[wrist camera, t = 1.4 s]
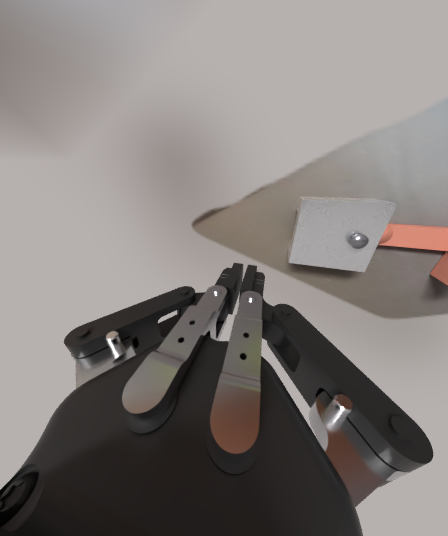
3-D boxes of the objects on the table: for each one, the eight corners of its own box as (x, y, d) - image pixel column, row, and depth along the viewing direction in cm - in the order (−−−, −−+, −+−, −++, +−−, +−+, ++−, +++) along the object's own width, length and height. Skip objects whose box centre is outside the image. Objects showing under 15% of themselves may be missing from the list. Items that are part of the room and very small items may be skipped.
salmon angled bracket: (510, 194, 19) (576, 200, 15) (446, 276, 25) (481, 296, 20) (382, 190, 22) (407, 194, 18) (350, 264, 27) (364, 280, 23)
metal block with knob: (377, 198, 23) (403, 204, 18) (352, 258, 27) (367, 275, 22) (298, 195, 25) (303, 200, 20) (287, 251, 29) (289, 265, 25)
